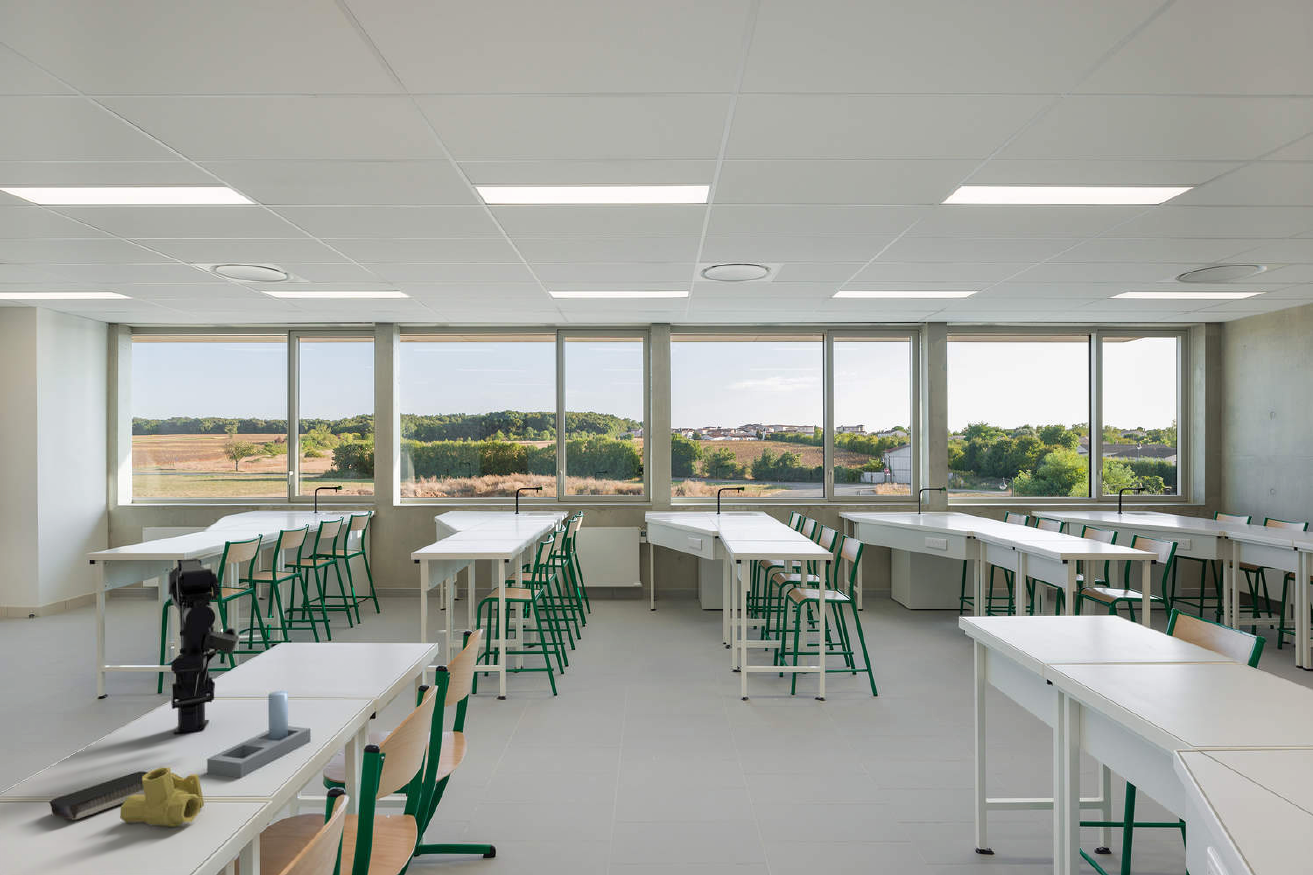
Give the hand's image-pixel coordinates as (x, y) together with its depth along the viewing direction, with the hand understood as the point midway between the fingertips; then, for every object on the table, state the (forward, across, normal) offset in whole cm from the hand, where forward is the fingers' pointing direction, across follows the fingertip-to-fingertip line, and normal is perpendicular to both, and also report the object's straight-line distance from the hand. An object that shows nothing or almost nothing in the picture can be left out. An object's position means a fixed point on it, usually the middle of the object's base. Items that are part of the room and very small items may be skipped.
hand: (196, 690), depth 173 cm
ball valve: (+13, -37, -3) cm, 39 cm away
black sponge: (+14, -25, +10) cm, 31 cm away
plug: (+13, -8, -18) cm, 24 cm away
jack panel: (+13, -12, -15) cm, 23 cm away
